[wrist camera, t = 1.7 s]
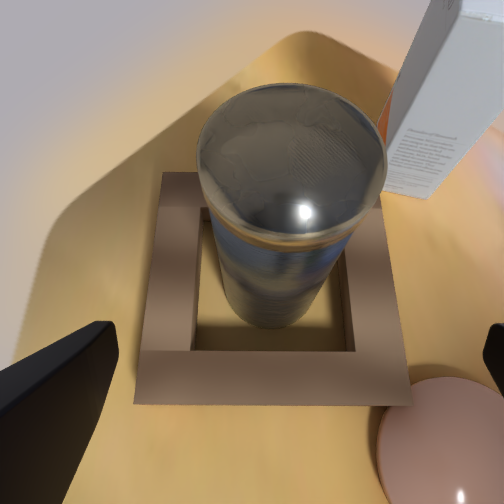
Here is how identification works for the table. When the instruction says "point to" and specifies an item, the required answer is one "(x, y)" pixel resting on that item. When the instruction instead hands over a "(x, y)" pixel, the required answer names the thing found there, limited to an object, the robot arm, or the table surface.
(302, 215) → the tea tin
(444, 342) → the table surface
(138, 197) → the table surface
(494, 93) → the skincare box
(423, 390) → the coaster
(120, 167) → the table surface
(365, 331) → the pocket frame
